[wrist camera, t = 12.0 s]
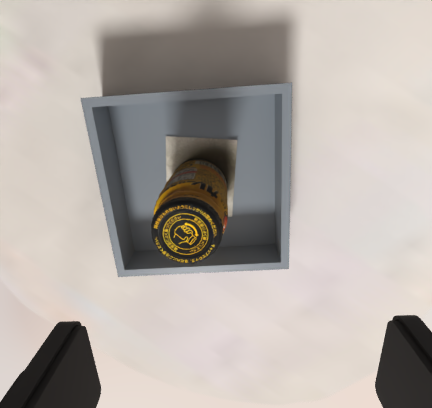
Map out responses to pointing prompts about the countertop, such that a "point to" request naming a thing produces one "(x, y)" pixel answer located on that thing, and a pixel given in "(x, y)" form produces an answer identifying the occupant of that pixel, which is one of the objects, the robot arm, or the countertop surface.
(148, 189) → the open bin
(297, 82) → the countertop surface
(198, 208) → the condiment
